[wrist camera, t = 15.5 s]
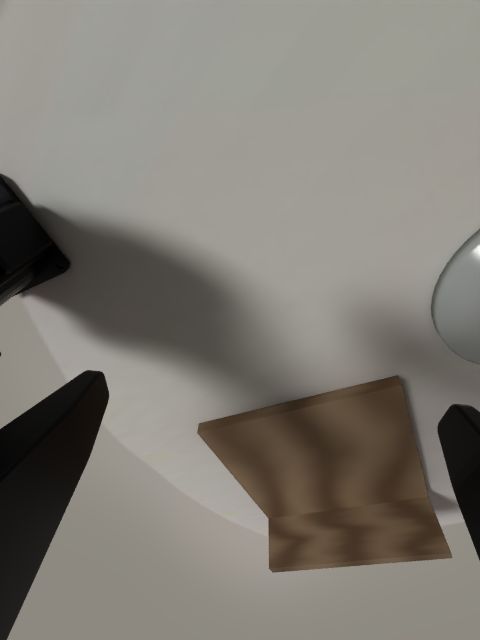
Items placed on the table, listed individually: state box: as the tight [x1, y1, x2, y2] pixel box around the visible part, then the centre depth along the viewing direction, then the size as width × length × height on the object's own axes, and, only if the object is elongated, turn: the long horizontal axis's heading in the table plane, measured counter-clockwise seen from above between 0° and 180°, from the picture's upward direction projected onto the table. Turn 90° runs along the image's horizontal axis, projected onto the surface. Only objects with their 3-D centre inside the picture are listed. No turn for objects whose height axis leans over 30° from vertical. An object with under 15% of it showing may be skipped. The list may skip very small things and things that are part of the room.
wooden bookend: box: [197, 376, 452, 572], centre depth 30 cm, size 18×19×6 cm
